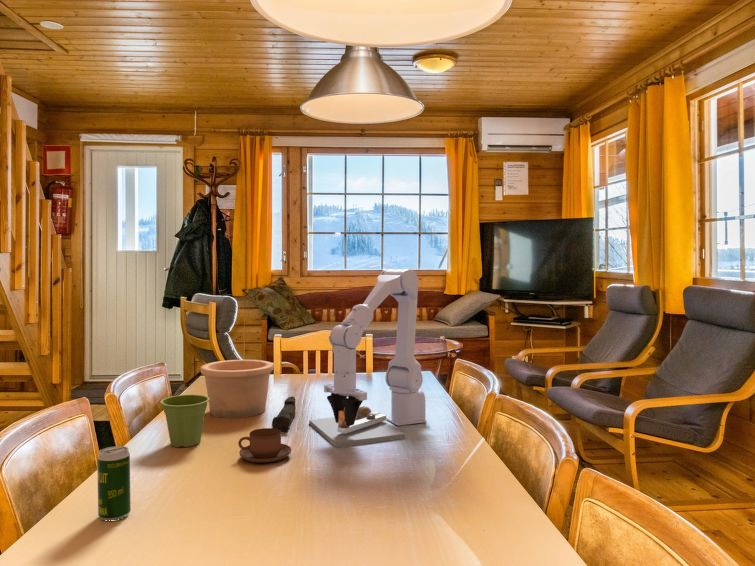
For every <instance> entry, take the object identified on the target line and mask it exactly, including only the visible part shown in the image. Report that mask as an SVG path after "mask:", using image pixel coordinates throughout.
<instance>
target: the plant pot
mask: <svg viewBox="0 0 755 566" xmlns="http://www.w3.org/2000/svg"><path fill="white" fill-rule="evenodd" d="M209 399H210V398H209V397H208V395H205V394H204V395H203V394H180V395H179V394H178V395H173V396H172V395H171V396H168V397H165V398H163V399H161V400H160V404H161V405H162V409H163V413H164V415H165V419H166V425H167V430H168V437H169V441H170V445H171V446H172V447H174V448H179V447H184V448H190V447H194V446H197V445H199V443H200V442H201V441H202V440H201V439H202V435H203V434H202V433H203V426H204V421H205V413H206V410H207V406H208V403H209Z"/></svg>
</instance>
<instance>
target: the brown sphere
mask: <svg viewBox="0 0 755 566" xmlns="http://www.w3.org/2000/svg"><path fill="white" fill-rule="evenodd" d="M369 413H372V410H371V408H370V407H368V406H365V407H362V408H361V409H360V410H359V416H360V417H361V418H362V419H363V418H366V417H367V414H369Z"/></svg>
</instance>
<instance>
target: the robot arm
mask: <svg viewBox="0 0 755 566" xmlns="http://www.w3.org/2000/svg"><path fill="white" fill-rule="evenodd" d="M418 292H419V276H418V275H417V273H416V272H415V271H414V270H413V269H411V268H408V269H389V268H386V269H385V268H384V269H383V270H382V271H381V272H380V274H379V275H378V276H377V278H376V284H375V285H374V287H373V288H372V290H371V291H370V293H369V294H368V295H367V297H366V299H365V300H364V302H363V303H362V304H361V303H359V304H355V305H353V307H352V308H351V309H352V310H351V311H350V312H349V314H348V315H347V316H346V317H345V318H344V319H343V320H342V322H341V324H337V325H335V326H334V327H333V328H332V329H331V330H330V335H328V341H329V344H330V345H331V348H332V349H331V350H332V353H333V384H332V383H326V384H324V385H323V392H324V393H330V395H327V396H326V399H327V401H328V402H329V404H330V407H331V410H332V413H333V416H334V417H335V421H336V423H338V409H343V408H345V415H346V425H347V426H351V425H354V423H355V418H356V415H357V412H358V409H359V407H360V405H362V403H363V402H364V401H366V400H368V392H367V391H363V390H362V389H361V388H358V387H357V347H358V346H359V345H360V344H361V341H362V336H363V333H364V331H365V330H366V328H367V327H369V325H370V323H371V322H372V320H373V319H374V311H375V310H376V309H377V308H378V307H379V306H380V305H381V303H383V301H384V300H385V299H386V298H387V297H388V296H389V295H390V296H392V298H394V299H395V300H396V302H398V306H397V323H396V338H395V339H396V341H395V353H394V354H395V355H394V357H393V358H392V359H391V360H389V361H388V367H387V370H386V373H385V384H386V385H387V386H388V387H389V390H390V391H391V393H390V394H391V410H390V411H391V414H390V415H391V416H386V421H389V422H391V423H392V424H393V425H395V426H405V425H413V424H423V423H427V422H428V421H427V420H426V395H425V393H424V391H423V389H420V388H422V385H423V381H424V380H423V374H422V365H421V363H419V361H418V360H417V359H416V358H415V347H416V343H415V342H416V327H417V313H418V309H417V308H418V294H419V293H418Z"/></svg>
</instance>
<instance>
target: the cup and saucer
mask: <svg viewBox="0 0 755 566" xmlns="http://www.w3.org/2000/svg"><path fill="white" fill-rule="evenodd" d="M244 440H245V441H246V440H247V441H249V445H247V446H243V445H242V442H243V441H244ZM238 447H239V448H240V450H239V456H240V458H242V459H244V460H245V461H247V462H251V463H258V464H262V463H263V464H264V463H273V462H277V461H281V460H283V459H285V458H287V457H288V456H289V455H290V454H291V452H292V447H291V446H289V445H288V444H285V443H282V433H281V431H280V430H278V429H274V428H272V427H266V428H265V427H262V428H257V429H253V430H251V431H250V432H249V435H248V436H243V437H240V438H239V439H238Z"/></svg>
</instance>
